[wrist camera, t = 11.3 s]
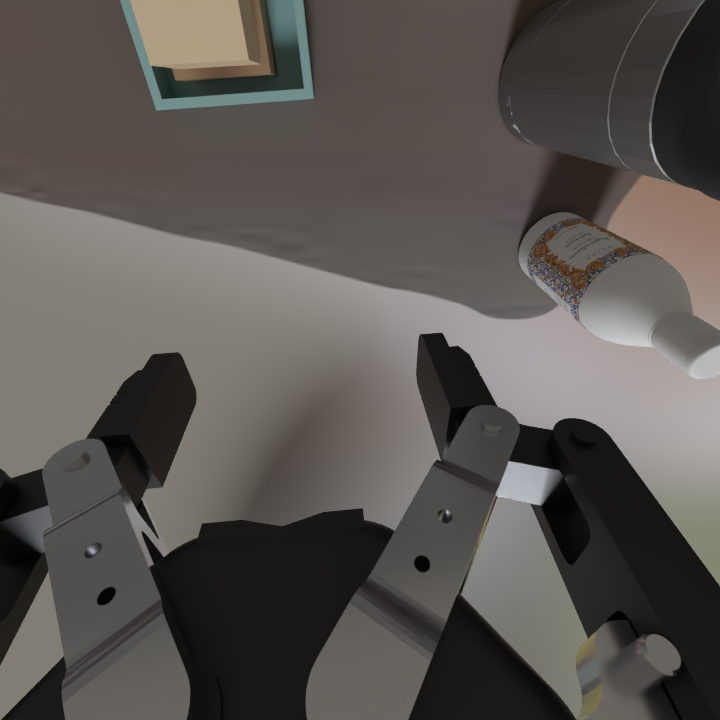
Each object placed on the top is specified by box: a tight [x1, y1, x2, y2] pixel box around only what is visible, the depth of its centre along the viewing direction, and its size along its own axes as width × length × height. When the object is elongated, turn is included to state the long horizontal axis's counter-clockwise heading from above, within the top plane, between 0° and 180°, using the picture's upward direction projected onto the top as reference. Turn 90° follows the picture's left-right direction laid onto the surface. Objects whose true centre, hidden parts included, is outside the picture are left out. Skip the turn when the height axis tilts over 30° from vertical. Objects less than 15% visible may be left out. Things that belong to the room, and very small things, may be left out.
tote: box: [120, 0, 314, 110], centre depth 24 cm, size 11×9×4 cm
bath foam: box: [518, 212, 720, 379], centre depth 30 cm, size 7×7×20 cm
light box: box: [130, 0, 261, 69], centre depth 19 cm, size 5×5×5 cm
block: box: [172, 0, 278, 81], centre depth 23 cm, size 6×6×5 cm
